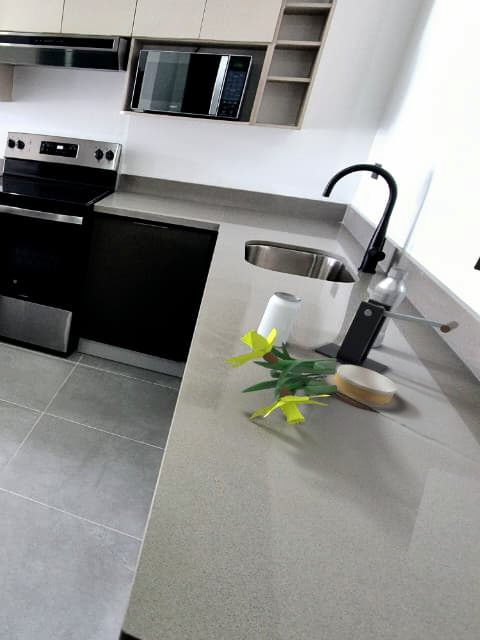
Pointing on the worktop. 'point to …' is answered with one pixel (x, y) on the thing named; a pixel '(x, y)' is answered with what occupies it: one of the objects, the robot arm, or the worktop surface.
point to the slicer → (360, 337)
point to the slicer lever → (423, 321)
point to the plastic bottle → (390, 295)
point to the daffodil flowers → (286, 375)
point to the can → (280, 316)
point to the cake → (363, 386)
